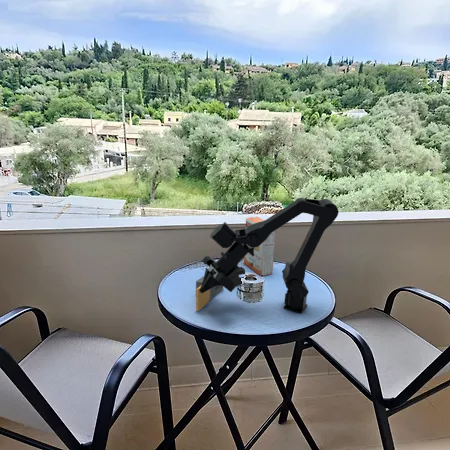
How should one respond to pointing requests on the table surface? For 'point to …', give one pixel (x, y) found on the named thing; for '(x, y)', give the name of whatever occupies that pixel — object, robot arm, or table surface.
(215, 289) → the block
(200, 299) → the door
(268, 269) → the cracker box
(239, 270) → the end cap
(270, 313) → the table surface
